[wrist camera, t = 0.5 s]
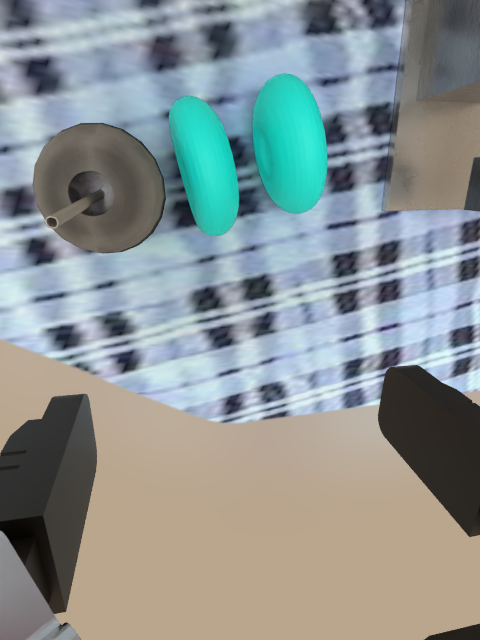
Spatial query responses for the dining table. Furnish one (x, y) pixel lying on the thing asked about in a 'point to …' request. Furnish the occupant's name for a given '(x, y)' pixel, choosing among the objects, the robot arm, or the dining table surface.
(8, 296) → the dining table surface
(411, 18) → the pillow blocks
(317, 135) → the donuts
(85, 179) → the beverage cup
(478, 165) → the shaft
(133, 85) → the dining table surface
